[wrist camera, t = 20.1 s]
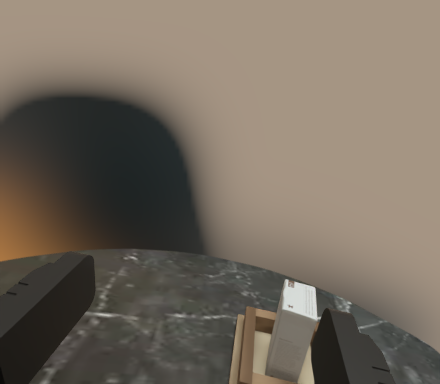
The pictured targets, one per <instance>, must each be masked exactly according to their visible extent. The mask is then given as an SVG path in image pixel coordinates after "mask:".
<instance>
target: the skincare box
mask: <svg viewBox="0 0 440 384" xmlns="http://www.w3.org/2000/svg"><path fill="white" fill-rule="evenodd" d="M316 323H317V306H316V292H315V288H314V287H312V286H308V285H305V284H301V283H297V282H293V281H289V280H285V282H284V285H283V289H282V293H281V297H280V302H279V306H278V310H277V314H276V318H275V323H274V327H273V331H272V335H271V339H270V344H269V350H268V356H267V363H266V370H265V375H266V376H270V377H274V378H278V379H282V380H286V381H290V382H294V383H298V380H299V376H300V373H301V370H302V367H303V364H304V361H305V358H306V354H307V351H308V348H309V345H310V342H311V339H312V335H313V332H314V329H315V326H316Z"/></svg>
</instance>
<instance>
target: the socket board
mask: <svg viewBox="0 0 440 384" xmlns="http://www.w3.org/2000/svg"><path fill="white" fill-rule="evenodd" d="M276 314H277V313H274V312H270V311H265V310H261V309H257V308H252V307H248V306H247V307H246V312H245V316H244V315H240V314H238V318H237V324H236V332H235V339H234V347H233V354H232V362H231V370H230V377H229V384H315V383H314V376H313V370H312V363H311V347H312V342H313V339H314V336H315V334H316V331H317V328H318V325H319V322H317V323H316V326H315V329H314V332H313V335H312V339H311V342H310V345H309V348H308V351H307V354H306V358H305V361H304V364H303V367H302V370H301V373H300V376H299V380H298V383H294V382H290V381H286V380H282V379H278V378H274V377H270V376H266V375H265V370H266V363H267V356H268V350H269V344H270V339H271V335H272V331H273V327H274V323H275V318H276Z"/></svg>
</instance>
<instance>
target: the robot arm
mask: <svg viewBox="0 0 440 384" xmlns="http://www.w3.org/2000/svg"><path fill="white" fill-rule="evenodd" d="M94 296H95V272H94V259H93V257H92V256H90V255H86V254H81V253H77V252H72V251H70V252H67V253H66V254H64V255H63V256H62V257H61V258H60V259H58V260H57V261H56V262H55V263H48V264H46V265H44V266H42V267H40V268H37V269H35V270H33V271H32V272H30V273H29V274H28V275H27V276H25V277H24V278H23V279H22V280H20V281H19V283H18V284H15V285H14V286H13V287H12V288H10V289H9V290H8V291H7V293H6V294H3V295H2V296H0V384H29V382H30V381H31V380H32V379H33V377H34V376H35V375H36V374H37V372H38V371H39V370H40V369H41V367H42V366H43V365H44V364H45V362H46V361H47V360H48V359H49V357H50V356H51V355H52V354H53V352H54V351H55V350H56V349H57V347H58V346H59V345H60V344H61V342H62V341H63V340H64V338H65V337H66V336H67V335H68V333H69V332H70V331H71V330H72V328H73V327H74V326H75V325H76V323H77V322H78V321H79V320H80V318H81V317H82V316H83V315H84V313H85V312H86V311H87V310H88V308H89V307H90V305H91V303H92V301H93V299H94ZM311 363H312V370H313V376H314V383H315V384H395V381H394V379H393V377H392V374H390V370H389V367H388V365H387V363H386V360H385V358H384V355H383V353H382V351H381V350H380V349H379V348H378V346H377V345H376V344H375V343H374V341H373V340H372V339H371V338H370V336H369V335H365V334H361V333H359V330H358V327H357V324H356V322H355V319H354V317H353V315H352V314H351V313H347V312H342V311H338V310H333V309H329V308H326V309H325V310H324V312H323V314H322V317H321V320H320V323H319V325H318V328H317V331H316V334H315V336H314V339H313V342H312V347H311Z"/></svg>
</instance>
